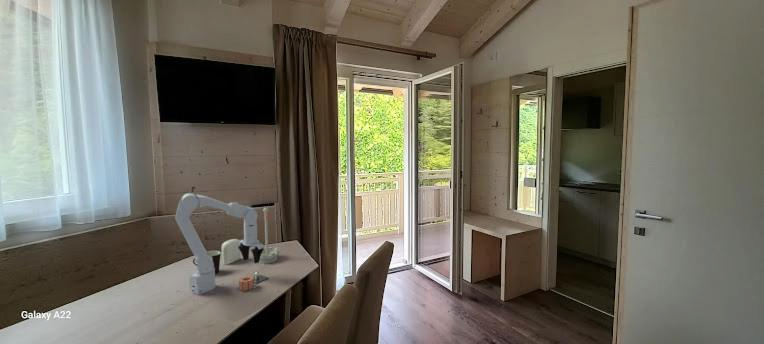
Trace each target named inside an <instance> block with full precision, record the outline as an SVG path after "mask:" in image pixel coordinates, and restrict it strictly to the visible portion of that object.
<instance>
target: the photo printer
mask: <svg viewBox="0 0 764 344" xmlns="http://www.w3.org/2000/svg"><path fill="white" fill-rule="evenodd" d="M239 240H240V239H237V238H232V239H228V240H226V241H224V242H223V243H222V244H221V248H220V249H221V263H222V265H225V266H227V265H230V264H233V263H235V262H236V261H238V260H240V259H241V251H240V250H239V248H238V246H240V244H239Z"/></svg>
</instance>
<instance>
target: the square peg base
mask: <svg viewBox="0 0 764 344" xmlns="http://www.w3.org/2000/svg"><path fill="white" fill-rule="evenodd" d="M253 277H254V285H257V284H260V283H262V282H265V281H266V280H268V279H269V277H268V276H265V275H262V274H260V271H255V275H253Z"/></svg>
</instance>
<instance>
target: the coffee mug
mask: <svg viewBox="0 0 764 344" xmlns="http://www.w3.org/2000/svg"><path fill="white" fill-rule="evenodd" d="M207 253H208V254H210V255H211V256H212V258H213V263H214V268H215V275H217V274H218V273H219V272H220V265H221V263H220V262H221V255H222V251H220V250H210V251H207ZM192 263H193V264H194V265H195V266H196V267H197V262H196V259H195V258H194V259H193V260H192Z"/></svg>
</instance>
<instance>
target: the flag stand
mask: <svg viewBox="0 0 764 344" xmlns="http://www.w3.org/2000/svg"><path fill="white" fill-rule="evenodd" d="M269 210H270V209H269V208H268V207H264V208H263V209H262V211H263V212H264V239H265V240H264V241H265V242H264V243H265V248H264V250H263V251H262V253H261V256H260V260H259V262H258V263H257V264H262V263H264V264H270V263H271V262H272V263H275V262H276V261H277V260H278V259H279V257H278V256H279V255H280V249H279V247H274V248H273V246H269V225H268V224H269V223H268V221H269V219H268V213H269ZM274 261H275V262H274ZM272 263H271V264H272Z"/></svg>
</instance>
